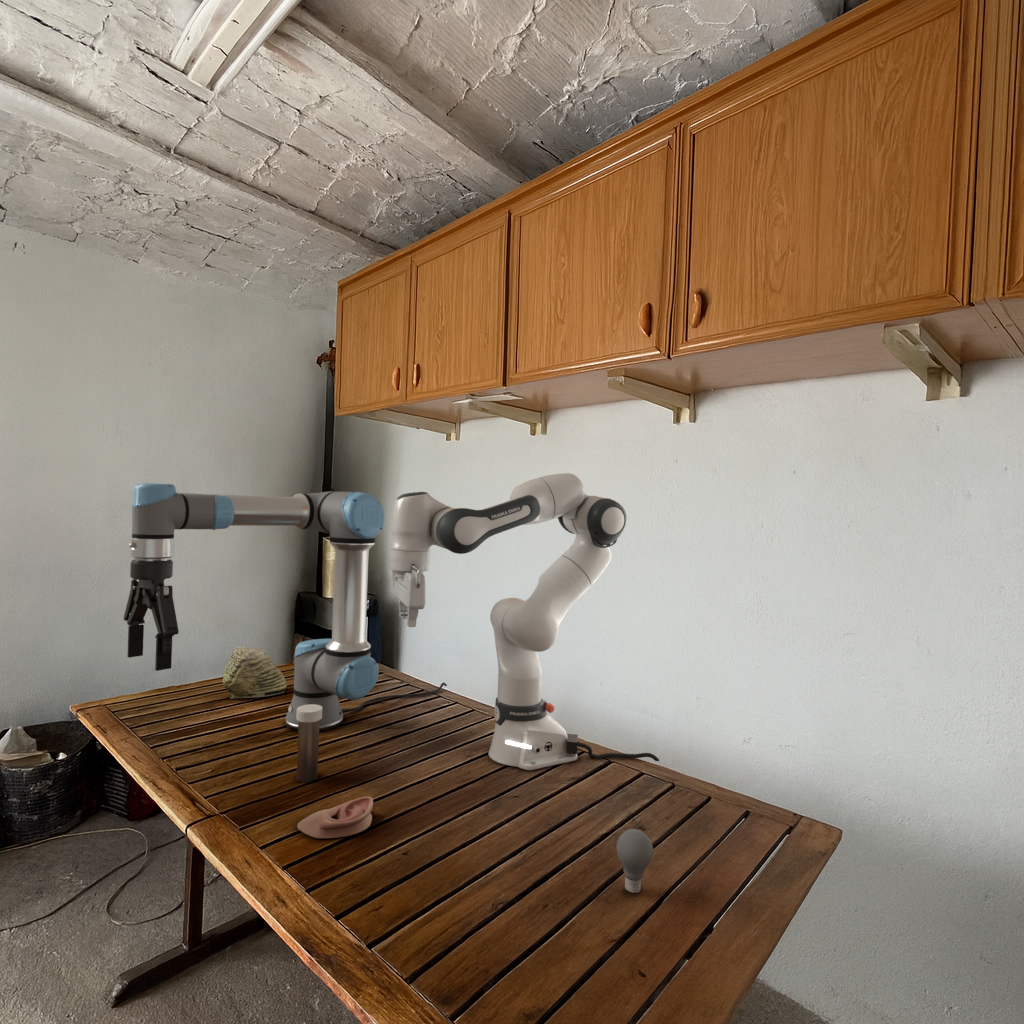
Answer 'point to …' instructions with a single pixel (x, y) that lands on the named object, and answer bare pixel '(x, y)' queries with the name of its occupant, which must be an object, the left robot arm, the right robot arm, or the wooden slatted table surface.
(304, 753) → the metal cylinder
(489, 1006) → the wooden slatted table surface
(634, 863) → the light bulb
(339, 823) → the anatomical model
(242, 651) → the fossil
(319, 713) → the lid
